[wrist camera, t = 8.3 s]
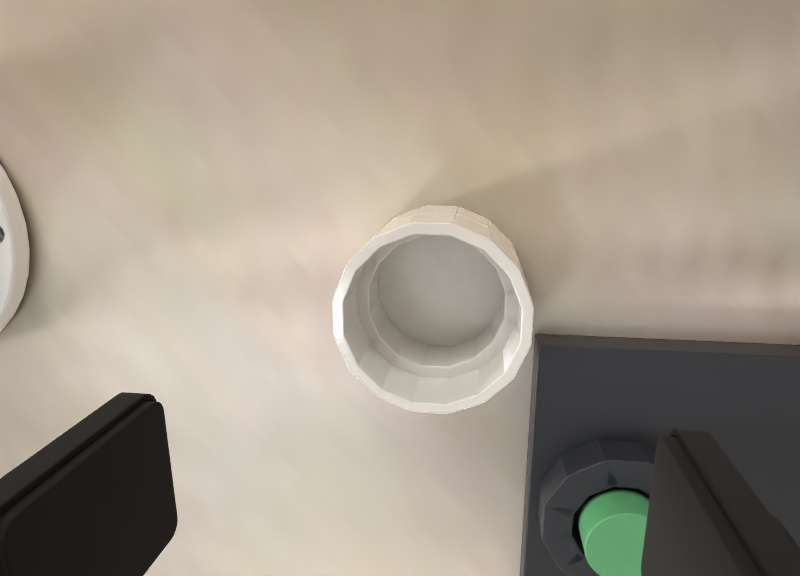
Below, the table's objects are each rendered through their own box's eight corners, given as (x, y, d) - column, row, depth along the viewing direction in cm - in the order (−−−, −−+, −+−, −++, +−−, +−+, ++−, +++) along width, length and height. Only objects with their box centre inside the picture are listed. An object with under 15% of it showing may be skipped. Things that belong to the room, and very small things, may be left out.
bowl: (363, 355, 25) (336, 407, 21) (359, 202, 24) (328, 221, 19) (518, 363, 24) (527, 420, 20) (527, 204, 23) (539, 224, 18)
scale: (517, 603, 28) (522, 657, 25) (535, 333, 24) (542, 360, 21) (929, 647, 25) (986, 713, 22) (1019, 353, 22) (1102, 388, 19)
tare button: (575, 552, 24) (581, 581, 22) (581, 485, 23) (588, 509, 21) (656, 560, 23) (668, 589, 22) (665, 491, 22) (678, 517, 21)
